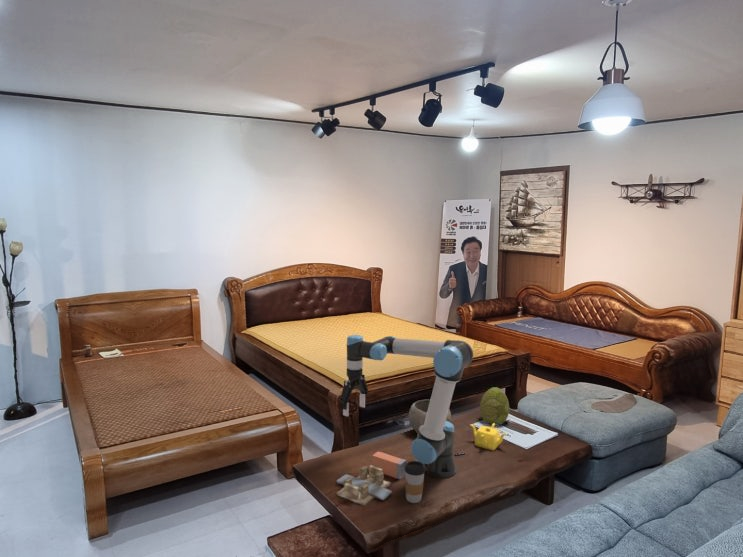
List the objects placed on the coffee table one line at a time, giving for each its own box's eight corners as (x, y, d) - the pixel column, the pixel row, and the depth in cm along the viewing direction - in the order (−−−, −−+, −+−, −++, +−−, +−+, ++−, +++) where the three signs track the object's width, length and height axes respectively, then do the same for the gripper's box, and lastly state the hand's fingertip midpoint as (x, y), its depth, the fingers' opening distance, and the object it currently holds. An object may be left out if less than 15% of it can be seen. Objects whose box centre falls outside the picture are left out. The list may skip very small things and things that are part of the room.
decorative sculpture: (506, 428, 288) (508, 394, 285) (477, 423, 294) (479, 390, 291) (509, 418, 303) (512, 385, 301) (481, 413, 309) (483, 381, 306)
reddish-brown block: (377, 465, 243) (378, 451, 242) (405, 474, 235) (406, 460, 234) (371, 469, 239) (372, 455, 238) (400, 479, 231) (400, 464, 230)
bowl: (405, 438, 273) (407, 411, 271) (409, 421, 295) (410, 395, 293) (450, 442, 269) (451, 415, 267) (450, 424, 292) (452, 399, 290)
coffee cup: (402, 493, 219) (403, 460, 217) (421, 493, 220) (423, 460, 218) (405, 505, 211) (406, 470, 209) (425, 504, 212) (426, 470, 210)
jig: (399, 488, 224) (400, 475, 223) (374, 509, 207) (375, 495, 206) (354, 471, 237) (354, 459, 236) (327, 491, 220) (327, 477, 219)
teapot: (506, 450, 262) (507, 432, 261) (480, 452, 259) (481, 434, 258) (493, 437, 276) (494, 420, 275) (468, 440, 273) (469, 422, 272)
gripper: (362, 360, 257) (362, 401, 259) (332, 373, 236) (332, 417, 239) (375, 363, 253) (375, 404, 255) (345, 376, 232) (345, 421, 235)
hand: (354, 411), depth 247 cm, fingers open, 13 cm apart
